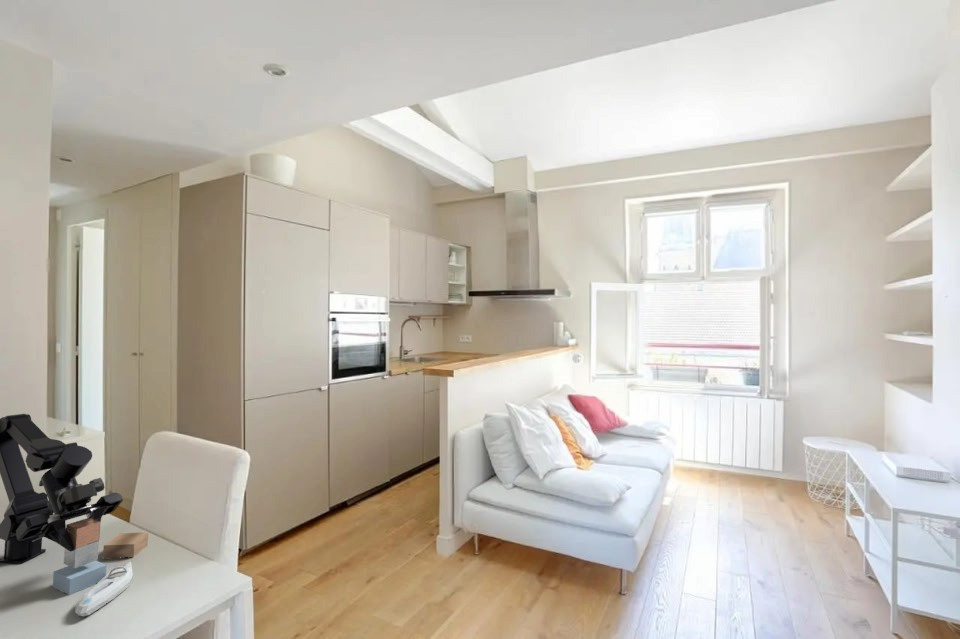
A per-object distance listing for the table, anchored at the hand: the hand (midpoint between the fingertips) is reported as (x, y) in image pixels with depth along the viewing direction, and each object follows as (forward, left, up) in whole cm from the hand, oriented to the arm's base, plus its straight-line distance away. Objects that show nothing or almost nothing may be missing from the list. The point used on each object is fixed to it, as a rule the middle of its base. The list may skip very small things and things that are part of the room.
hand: (85, 545), depth 105 cm
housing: (-1, +1, -4) cm, 4 cm away
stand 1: (-1, +1, -9) cm, 9 cm away
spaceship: (+7, -2, -9) cm, 12 cm away
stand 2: (-2, +15, -9) cm, 18 cm away
